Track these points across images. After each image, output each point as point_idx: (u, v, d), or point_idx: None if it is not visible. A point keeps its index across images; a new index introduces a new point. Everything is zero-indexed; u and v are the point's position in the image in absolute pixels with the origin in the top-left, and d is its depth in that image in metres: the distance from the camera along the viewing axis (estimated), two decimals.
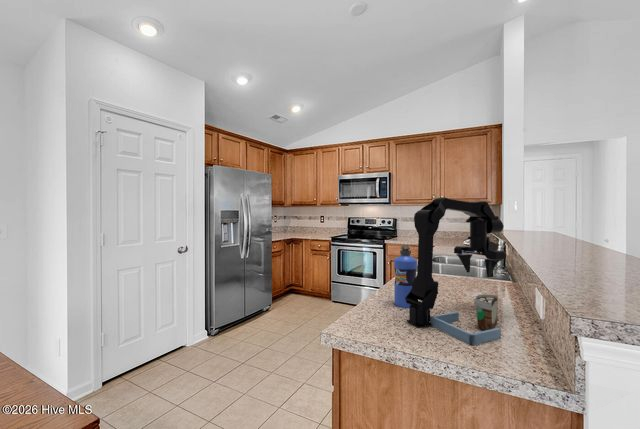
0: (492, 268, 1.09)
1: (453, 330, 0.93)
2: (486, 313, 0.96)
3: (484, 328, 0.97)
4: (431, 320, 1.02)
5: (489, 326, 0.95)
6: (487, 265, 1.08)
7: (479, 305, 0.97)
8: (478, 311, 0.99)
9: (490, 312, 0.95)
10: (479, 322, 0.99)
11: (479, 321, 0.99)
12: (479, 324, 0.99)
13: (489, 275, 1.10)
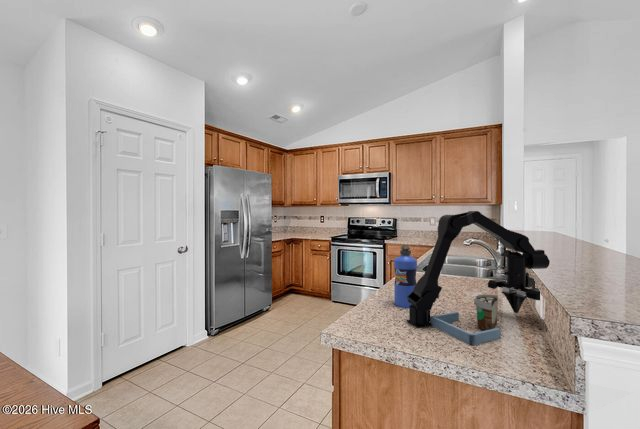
0: (520, 304, 1.06)
1: (453, 330, 0.93)
2: (486, 313, 0.96)
3: (484, 328, 0.97)
4: (431, 320, 1.02)
5: (489, 326, 0.95)
6: (515, 301, 1.05)
7: (479, 305, 0.97)
8: (478, 311, 0.99)
9: (490, 312, 0.95)
10: (479, 322, 0.99)
11: (479, 321, 0.99)
12: (479, 324, 0.99)
13: (517, 311, 1.06)
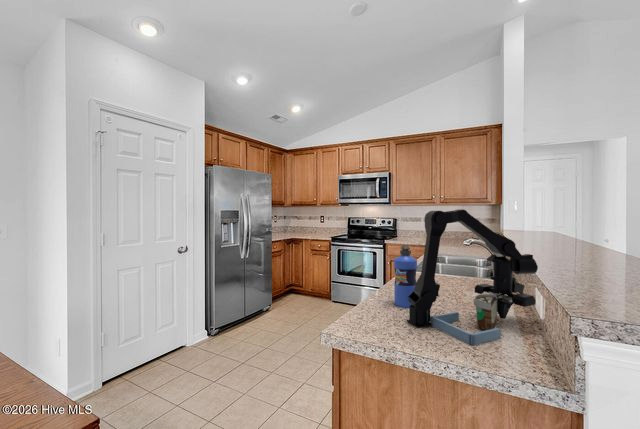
0: (507, 310, 1.03)
1: (453, 330, 0.93)
2: (486, 313, 0.96)
3: (484, 328, 0.97)
4: (431, 320, 1.02)
5: (489, 326, 0.95)
6: (502, 307, 1.02)
7: (479, 305, 0.97)
8: (478, 311, 0.99)
9: (490, 312, 0.95)
10: (479, 322, 0.99)
11: (479, 321, 0.99)
12: (479, 324, 0.99)
13: (504, 317, 1.03)
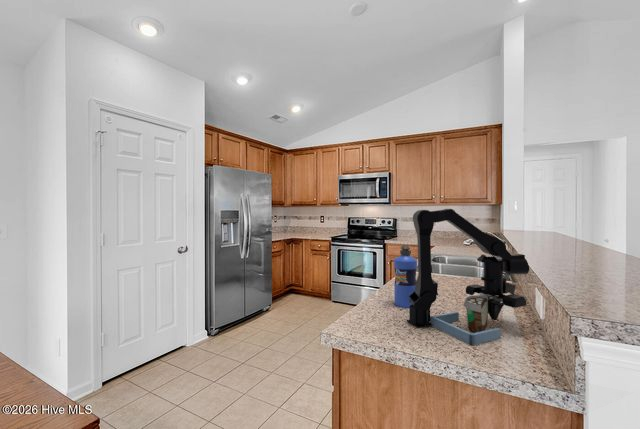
0: (498, 311, 1.01)
1: (453, 330, 0.93)
2: (476, 315, 0.94)
3: (474, 330, 0.95)
4: (431, 320, 1.02)
5: (479, 328, 0.94)
6: (493, 308, 1.00)
7: (469, 307, 0.95)
8: (468, 313, 0.97)
9: (480, 314, 0.93)
10: (469, 324, 0.97)
11: (469, 323, 0.97)
12: (469, 326, 0.97)
13: (495, 318, 1.02)
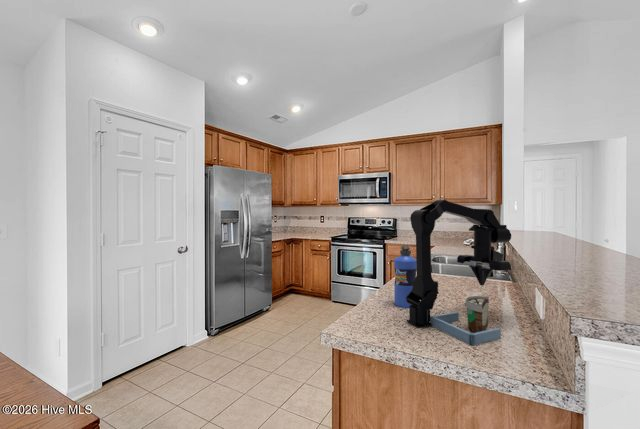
0: (485, 277, 1.09)
1: (453, 330, 0.93)
2: (477, 315, 0.94)
3: (475, 330, 0.95)
4: (431, 320, 1.02)
5: (480, 328, 0.94)
6: (480, 273, 1.08)
7: (469, 307, 0.95)
8: (469, 313, 0.97)
9: (480, 314, 0.93)
10: (470, 324, 0.97)
11: (470, 323, 0.97)
12: (470, 326, 0.97)
13: (482, 283, 1.10)
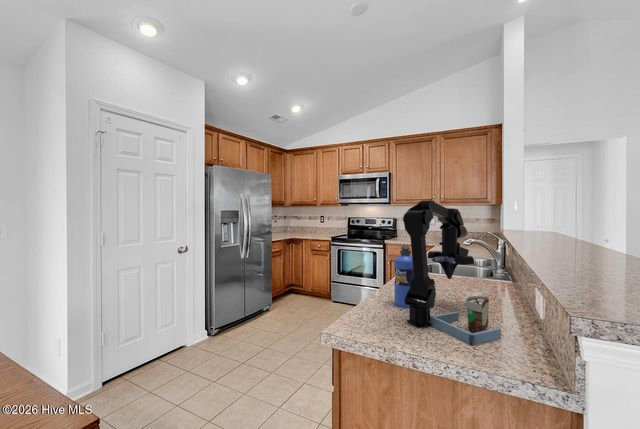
0: (452, 271, 1.18)
1: (453, 330, 0.93)
2: (477, 315, 0.94)
3: (475, 330, 0.95)
4: (431, 320, 1.02)
5: (480, 328, 0.94)
6: (447, 268, 1.18)
7: (469, 307, 0.95)
8: (469, 313, 0.97)
9: (480, 314, 0.93)
10: (470, 324, 0.97)
11: (470, 323, 0.97)
12: (470, 326, 0.97)
13: (450, 277, 1.19)
